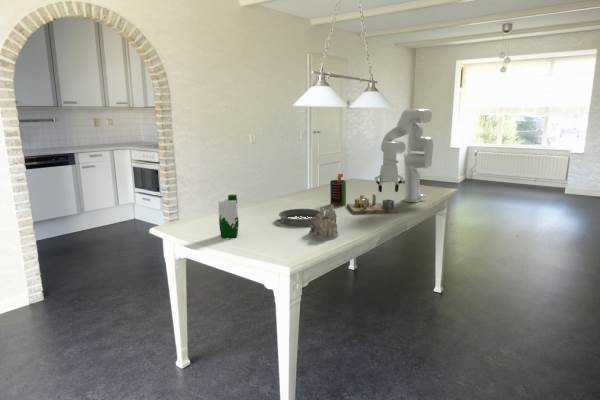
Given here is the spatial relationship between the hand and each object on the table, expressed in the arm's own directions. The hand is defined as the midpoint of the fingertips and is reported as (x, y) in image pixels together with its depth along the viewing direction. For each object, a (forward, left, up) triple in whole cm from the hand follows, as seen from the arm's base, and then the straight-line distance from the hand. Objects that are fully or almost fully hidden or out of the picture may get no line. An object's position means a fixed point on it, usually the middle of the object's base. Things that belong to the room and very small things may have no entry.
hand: (388, 191), depth 243 cm
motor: (+26, -23, -12) cm, 37 cm away
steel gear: (0, 0, -10) cm, 10 cm away
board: (+9, -5, -12) cm, 16 cm away
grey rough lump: (+46, +45, -12) cm, 66 cm away
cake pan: (+54, +16, -13) cm, 57 cm away
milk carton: (+91, +41, -12) cm, 100 cm away
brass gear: (+14, -9, -10) cm, 19 cm away
